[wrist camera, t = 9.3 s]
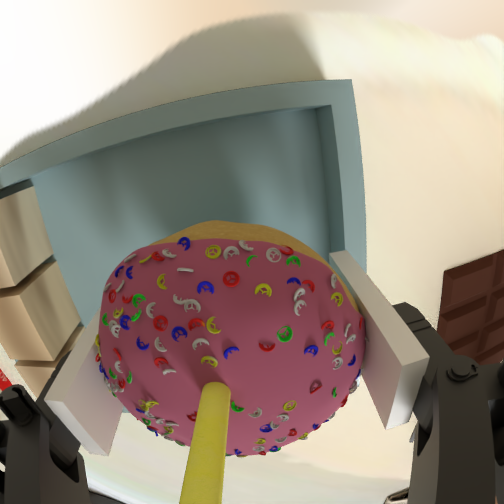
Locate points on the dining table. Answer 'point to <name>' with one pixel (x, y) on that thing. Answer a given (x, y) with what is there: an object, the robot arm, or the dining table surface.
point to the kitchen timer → (0, 384)
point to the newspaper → (397, 499)
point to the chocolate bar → (474, 309)
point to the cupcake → (229, 344)
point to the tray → (200, 177)
